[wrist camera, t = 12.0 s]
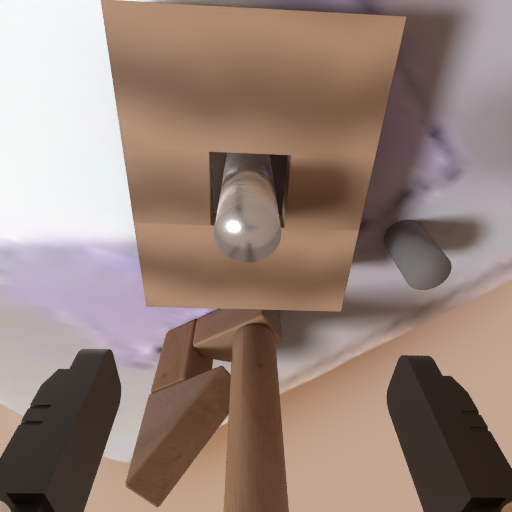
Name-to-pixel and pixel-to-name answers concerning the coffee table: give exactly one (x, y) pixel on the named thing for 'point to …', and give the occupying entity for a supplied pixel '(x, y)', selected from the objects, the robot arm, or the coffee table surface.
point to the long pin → (247, 209)
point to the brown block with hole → (248, 141)
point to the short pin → (417, 255)
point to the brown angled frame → (216, 410)
